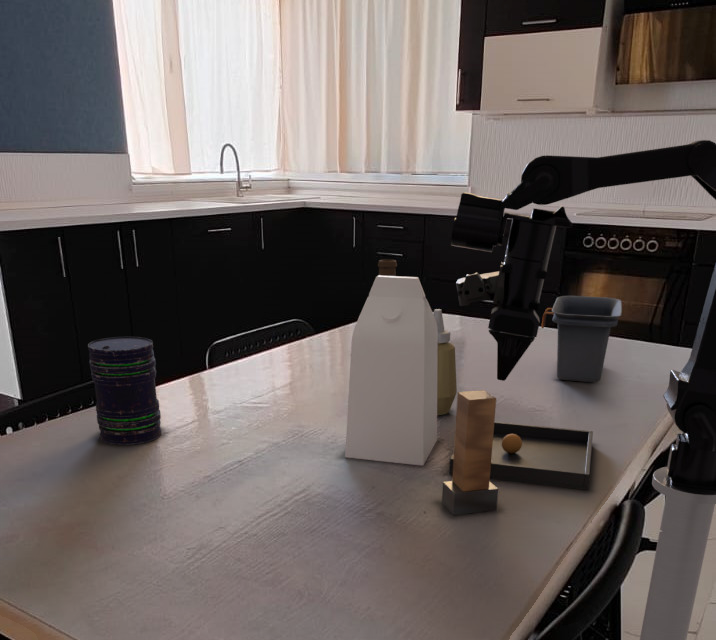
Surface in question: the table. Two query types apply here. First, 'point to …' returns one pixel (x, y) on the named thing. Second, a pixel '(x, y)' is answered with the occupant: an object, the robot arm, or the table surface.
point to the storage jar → (125, 390)
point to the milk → (393, 375)
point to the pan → (542, 456)
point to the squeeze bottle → (445, 367)
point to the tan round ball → (511, 443)
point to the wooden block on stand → (472, 456)
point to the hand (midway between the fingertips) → (501, 371)
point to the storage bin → (583, 334)
